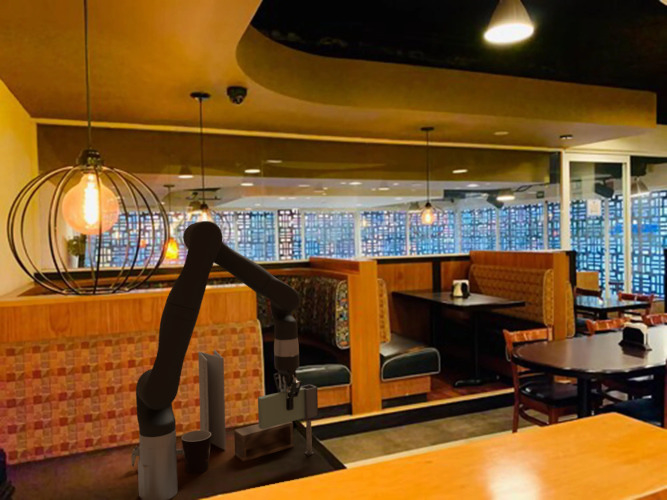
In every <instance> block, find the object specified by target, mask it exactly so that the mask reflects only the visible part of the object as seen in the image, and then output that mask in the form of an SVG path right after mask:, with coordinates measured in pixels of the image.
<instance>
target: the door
mask: <svg viewBox="0 0 667 500" xmlns="http://www.w3.org/2000/svg"><path fill="white" fill-rule="evenodd" d="M289 393H290V391H289ZM318 398H319V397H318V386H316V385H313V384H311V383H310V384H306V385H305V384H304V385H301V387H300V391H299V394H298V396H297V397H294V398H293V404H294V408H293V410H289V411H288V410H287V409H286V391H284V392H279V393H278V392H276V393H275V392H274V393H270V394H266V395H261V396H258V397H257V408H258V410H257V412H258V413H257V414H258V416H257V418H258V424H259V428H261V429H265V428H268V427H272V426H276V425H280V424H283V423H287V422H291V421H294V422H295V421H297V420H298V421H299V420H302V419H311V418H314V417H317V416H319V405H318V403H319V402H318V401H319V399H318Z"/></svg>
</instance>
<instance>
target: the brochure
mask: <svg viewBox="0 0 667 500" xmlns="http://www.w3.org/2000/svg"><path fill="white" fill-rule="evenodd" d="M197 353H198V354H197V355H198V357H197V358H198V382H199V383H198V384H199V385H198V388H199V392H198V393H199V395H198V396H199V427H200V428H199V429H200V430H204V431H209V432H210V433H211V443H210V444H212V445H214V446H216V447H217V448H220V449H221V450H224V451H226V450H227V447H226V445H227V443H226V441H227V440H226V439H227V438H226V400H225V365H224V362H225V361H224V357H223V356H222V355H221V354H220V353H218V351H217V350H215V349H213V354H210V353H207V352H203V351H198V352H197Z"/></svg>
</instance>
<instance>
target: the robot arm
mask: <svg viewBox="0 0 667 500" xmlns="http://www.w3.org/2000/svg"><path fill="white" fill-rule="evenodd" d="M182 239H183V243H184V246H185V247H186V248H187V252H186V253H187V254H186V257H185V261H184V264H183V267H182V269H181V271H180V273H179V275H178V276H177V278H176V280H175V282H174V283H173V285H172V287H171V288H170V291H169V293H168V296H167V298H166V301H165V303H164V307H163V310H162V314H161V318H160V321H159V322H160V323H159V332H158V347H157V353H156V356H155V360H154V363H153V365H152V368H151V369H147V370H145V371H144V372H143V373H142V374H141V375H140V376H139V378H138V379H137V382H136V385H135V398H136V399H135V401H136V417H137V425H138V429H139V431H138V432H139V446H140V456H139V457H140V460H139V459H138V460H137V476H138V477H137V478H138V496H139V498H140V499H141V500H171V499H172V498H174V497H175V496H176V495H177V493H178V466H177V465H178V464H177V463H178V462H177V461H178V460H177V456H178V455H176V449H177V429H176V427H177V423H176V417H175V414H174V410H173V402H174V401H175V399H176V397H177V394H178V391H179V388H180V387H179V386H180V382H181V375H182V370H183V365H184V361H185V357H186V354H187V351H188V349H189V346H190V342H191V339H192V335H193V333H194V330H195V327H196V324H197V321H198V318H199V314H200V310H201V307H202V302H203V299H204V297H205V292H206V288H207V284H208V281H209V277H210V273H211V270H212V268H213V266H214V264H215V265H216V266H219V267H220V268H222V269H223V270H225V271H226V272H227V273H229V274H231V275H232V276H233V277H235V278H236V279H237V280H238V281H240V282H241V283H243V284H244V286H246V287H248V288H249V289H251V290H252V291H254V292H255V293H256V294H258V295H260V296H262V297H264V298H266V299H268V300H269V301H270V303H269V304H270V309H271V315H272V316H271V317H272V319H273V323H274V343H273V352H274V353H273V354H274V355H273V357H274V369H275V370H277V372H276V373H273V379H274V383H275V386H276V391H277V393H279V392H284V391H286V409H287V410H288V411H289V410H293V408H294V404H293V398H294V397H297V396H298V394H299V391H300V387H301V386H302V384H303V383H302V381H301V380H298V378H297V377H298V376H297V372H296V371H297V369H299V367H300V351H299V350H300V348H299V347H300V346H299V338H298V337H299V336H298V334H299V333H298V331H299V330H298V321H297V320H296V319H295V318H294V316H293V312H294V311H295V310H297V309H298V308H299V307H300V304H301V296H300V293H299V292H298V291H297V290H296V289H295V288H293V287H292V286H290V285H289V284H287V283H285V282H284V281H282V280H280V279H278V278H276V277H275V276H274V275H273V274H271V272H269V271H267V270H266V269H265V268H264V267H263V266H261V265H260V264H258V263H257V262H255V261H253V260H252V259H250V258H249V257H246V256H244V255H243V254H241V253H239V252H237V251H235V249H233V248H231V247H230V246H228V245H227V244H226V243H225V242H224V241H223V232H222V229H221V227H220V226H219V225H218V224H217V223H216V222H214V221H210V220H203V221H196V222H193V223H190V224H189V225H188V226H187V227H186V228H185V229H184V232H183V236H182ZM289 391H290V393H289Z"/></svg>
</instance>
